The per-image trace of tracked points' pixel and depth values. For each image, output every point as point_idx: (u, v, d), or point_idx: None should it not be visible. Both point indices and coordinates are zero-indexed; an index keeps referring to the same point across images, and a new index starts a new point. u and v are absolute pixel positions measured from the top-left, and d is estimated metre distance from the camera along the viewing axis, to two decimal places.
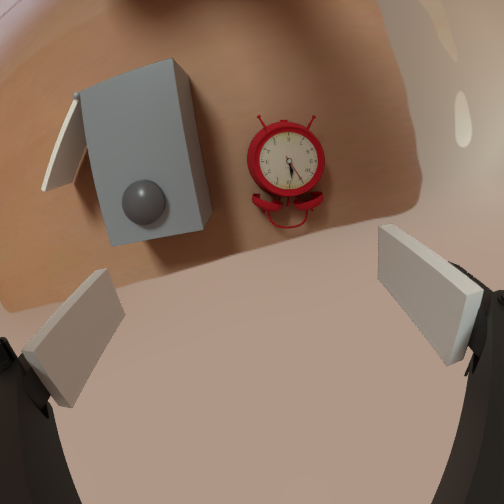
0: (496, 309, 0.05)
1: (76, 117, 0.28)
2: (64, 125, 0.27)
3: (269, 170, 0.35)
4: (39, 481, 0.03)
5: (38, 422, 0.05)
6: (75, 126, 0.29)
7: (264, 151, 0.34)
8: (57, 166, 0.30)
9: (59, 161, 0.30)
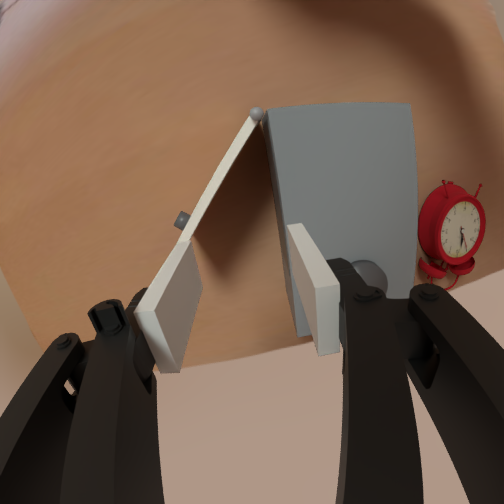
0: (351, 308, 0.07)
1: None
2: (227, 158, 0.21)
3: (446, 240, 0.29)
4: (127, 476, 0.04)
5: (140, 400, 0.06)
6: (234, 159, 0.23)
7: (446, 220, 0.28)
8: (200, 220, 0.24)
9: (204, 212, 0.24)
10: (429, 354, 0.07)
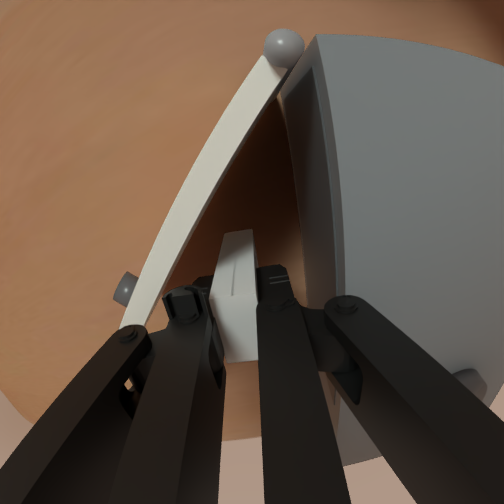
0: (262, 319, 0.07)
1: (243, 139, 0.08)
2: (201, 172, 0.08)
3: None
4: (189, 483, 0.04)
5: (210, 397, 0.06)
6: (225, 172, 0.09)
7: None
8: (152, 307, 0.11)
9: (159, 293, 0.10)
10: (356, 367, 0.07)
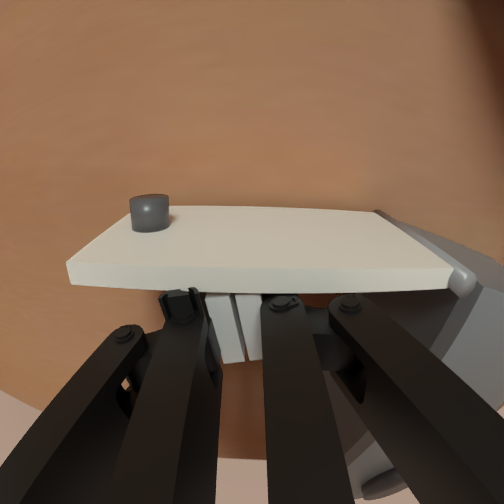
0: (267, 318, 0.07)
1: None
2: (364, 277, 0.08)
3: None
4: (186, 482, 0.04)
5: (207, 397, 0.06)
6: None
7: None
8: None
9: None
10: (360, 366, 0.07)
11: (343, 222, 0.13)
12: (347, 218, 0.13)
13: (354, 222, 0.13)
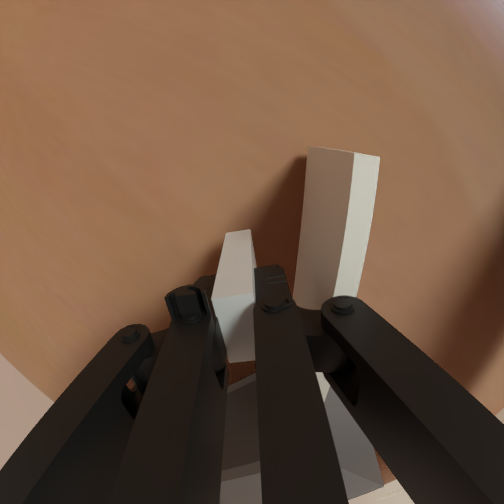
0: (260, 319, 0.07)
1: None
2: None
3: None
4: (192, 483, 0.04)
5: (213, 397, 0.06)
6: None
7: None
8: (328, 254, 0.10)
9: (325, 272, 0.10)
10: (354, 367, 0.07)
11: None
12: None
13: None
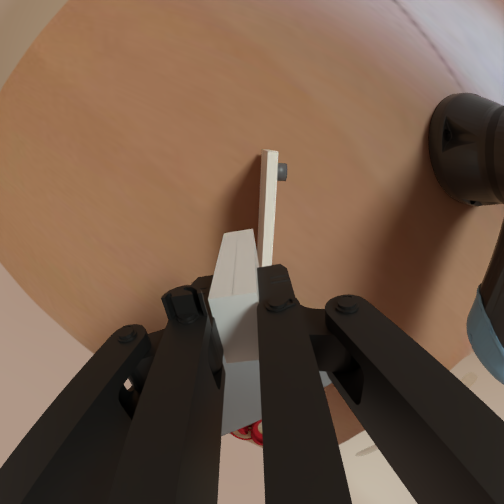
0: (263, 319, 0.07)
1: None
2: (267, 265, 0.24)
3: None
4: (189, 482, 0.04)
5: (210, 397, 0.06)
6: (260, 256, 0.26)
7: None
8: (264, 194, 0.23)
9: None
10: (357, 366, 0.07)
11: None
12: None
13: None
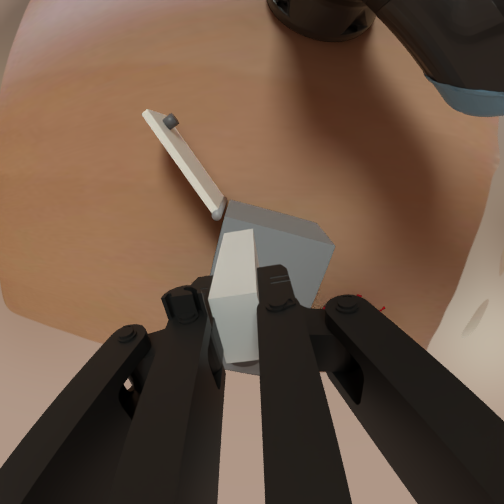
0: (263, 319, 0.07)
1: None
2: (194, 181, 0.28)
3: None
4: (189, 482, 0.04)
5: (210, 397, 0.06)
6: None
7: None
8: None
9: None
10: (357, 367, 0.07)
11: (208, 180, 0.33)
12: (211, 183, 0.34)
13: (211, 185, 0.33)
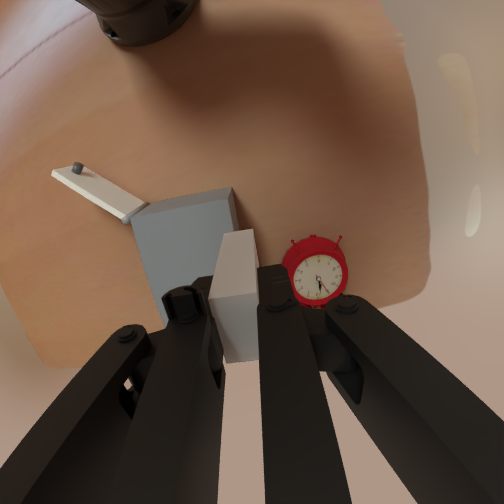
0: (263, 319, 0.07)
1: None
2: (101, 203, 0.32)
3: (301, 287, 0.42)
4: (189, 482, 0.04)
5: (210, 397, 0.06)
6: None
7: (297, 272, 0.41)
8: None
9: None
10: (357, 366, 0.07)
11: (123, 196, 0.36)
12: (128, 197, 0.37)
13: (127, 198, 0.37)
